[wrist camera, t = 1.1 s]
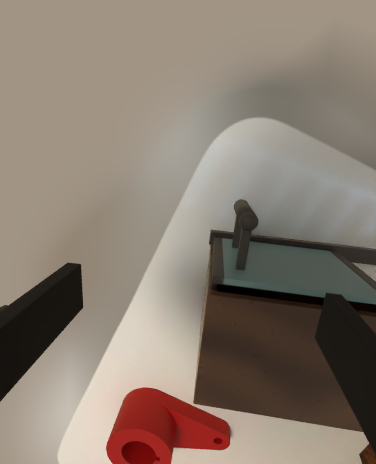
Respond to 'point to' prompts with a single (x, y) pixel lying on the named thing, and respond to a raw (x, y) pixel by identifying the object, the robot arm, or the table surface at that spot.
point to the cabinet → (272, 347)
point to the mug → (368, 456)
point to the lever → (161, 429)
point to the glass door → (285, 265)
